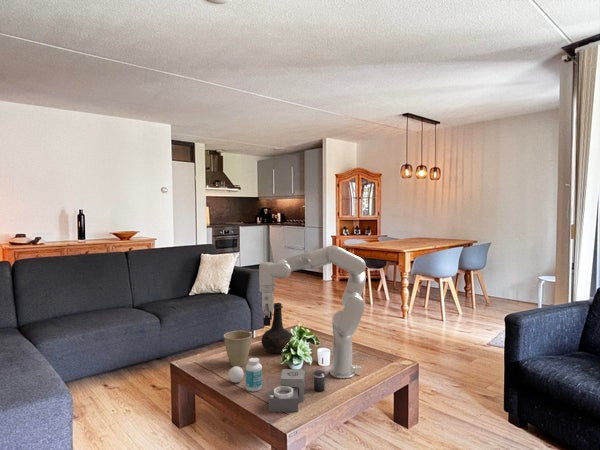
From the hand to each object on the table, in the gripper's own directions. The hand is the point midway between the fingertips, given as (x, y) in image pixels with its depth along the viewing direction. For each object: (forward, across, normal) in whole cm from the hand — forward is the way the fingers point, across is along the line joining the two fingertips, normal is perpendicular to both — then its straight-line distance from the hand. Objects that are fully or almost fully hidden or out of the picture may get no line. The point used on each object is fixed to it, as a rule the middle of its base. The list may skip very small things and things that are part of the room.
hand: (267, 322), depth 188 cm
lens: (+28, -12, -24) cm, 39 cm away
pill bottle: (+28, -11, +6) cm, 30 cm away
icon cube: (+28, -18, -12) cm, 35 cm away
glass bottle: (+28, +36, -2) cm, 46 cm away
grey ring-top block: (+28, -28, -8) cm, 40 cm away
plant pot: (+28, +17, +18) cm, 37 cm away
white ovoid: (+28, -3, +16) cm, 32 cm away
